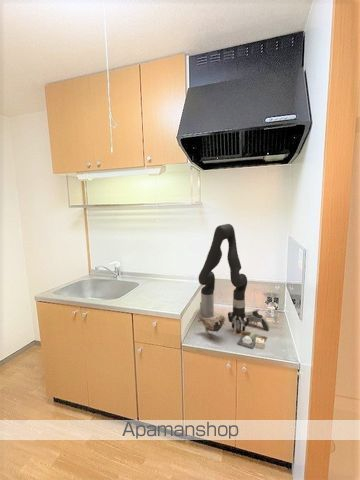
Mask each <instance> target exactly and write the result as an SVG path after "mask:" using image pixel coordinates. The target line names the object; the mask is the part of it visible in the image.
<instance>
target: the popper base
mask: <svg viewBox="0 0 360 480" xmlns="http://www.w3.org/2000/svg"><path fill="white" fill-rule="evenodd" d="M243 337H245V336H242V335H241V337H240V338H239V340H238V341H237V343H236V345H238V346H240V347H244V348H247V349H250V350H253V349H254V347H255V342H256V339H253V338H251V339H252V344H251V345H248V344H244V343H243Z"/></svg>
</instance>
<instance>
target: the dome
mask: <svg viewBox="0 0 360 480" xmlns="http://www.w3.org/2000/svg"><path fill="white" fill-rule="evenodd" d="M242 343H244V344H248V345H251V344H252V339H251V338H250V337H249V336H245V337H243V341H242Z"/></svg>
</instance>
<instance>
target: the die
mask: <svg viewBox="0 0 360 480" xmlns="http://www.w3.org/2000/svg"><path fill="white" fill-rule="evenodd" d="M254 347H255V348H258V349H262V350H264V348H265V342H264V339H261V338H256V342H255V346H254Z"/></svg>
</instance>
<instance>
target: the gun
mask: <svg viewBox="0 0 360 480" xmlns="http://www.w3.org/2000/svg"><path fill="white" fill-rule="evenodd" d="M259 311H260V309H259V308H258V309H256V310H252V311H245V315H246V316H247V317H248V316H249V317H250V319H249V323H250V325H251V326H253V327H256V326H257V324H258V323H261V325H262V328H263V331H267V332H268V331H269V330H270V325H269V323H268V320H267V319H266V318H265V317H264V316H263V315H262V314H259ZM230 312H231V313H233V311H230ZM233 319H234V317H233V315H232V320H233Z"/></svg>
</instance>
